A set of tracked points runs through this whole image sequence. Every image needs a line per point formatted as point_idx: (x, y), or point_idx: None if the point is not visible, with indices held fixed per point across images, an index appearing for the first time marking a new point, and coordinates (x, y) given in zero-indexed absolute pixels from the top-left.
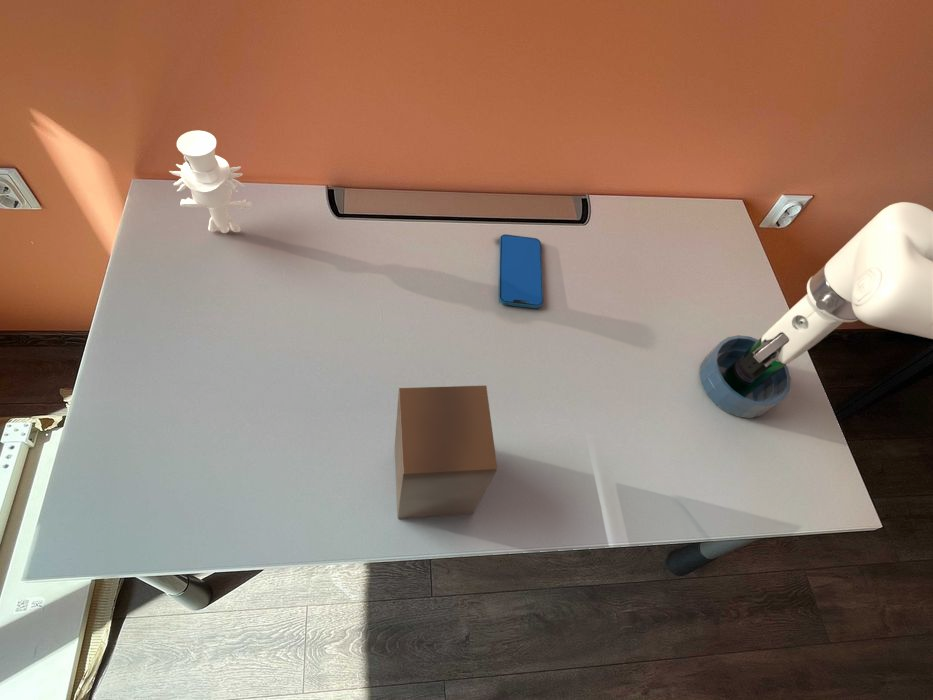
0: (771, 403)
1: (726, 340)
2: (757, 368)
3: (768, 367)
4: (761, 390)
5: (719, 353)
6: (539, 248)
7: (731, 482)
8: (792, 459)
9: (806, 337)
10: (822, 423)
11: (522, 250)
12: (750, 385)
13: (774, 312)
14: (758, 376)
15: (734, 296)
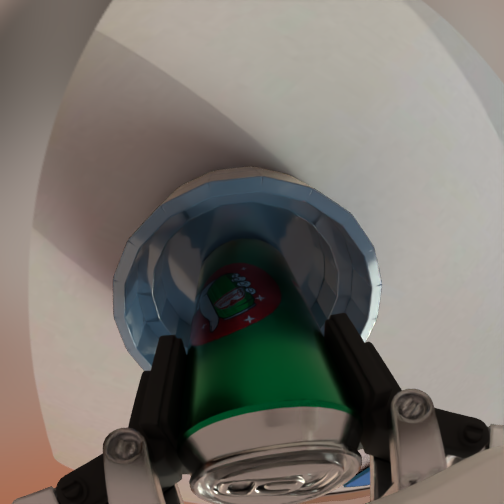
0: (290, 187)
1: None
2: (390, 373)
3: (388, 383)
4: (188, 229)
5: None
6: (353, 481)
7: (430, 88)
8: (252, 31)
9: None
10: (86, 83)
11: (369, 478)
12: (287, 274)
13: (45, 358)
14: (354, 326)
15: (110, 409)
